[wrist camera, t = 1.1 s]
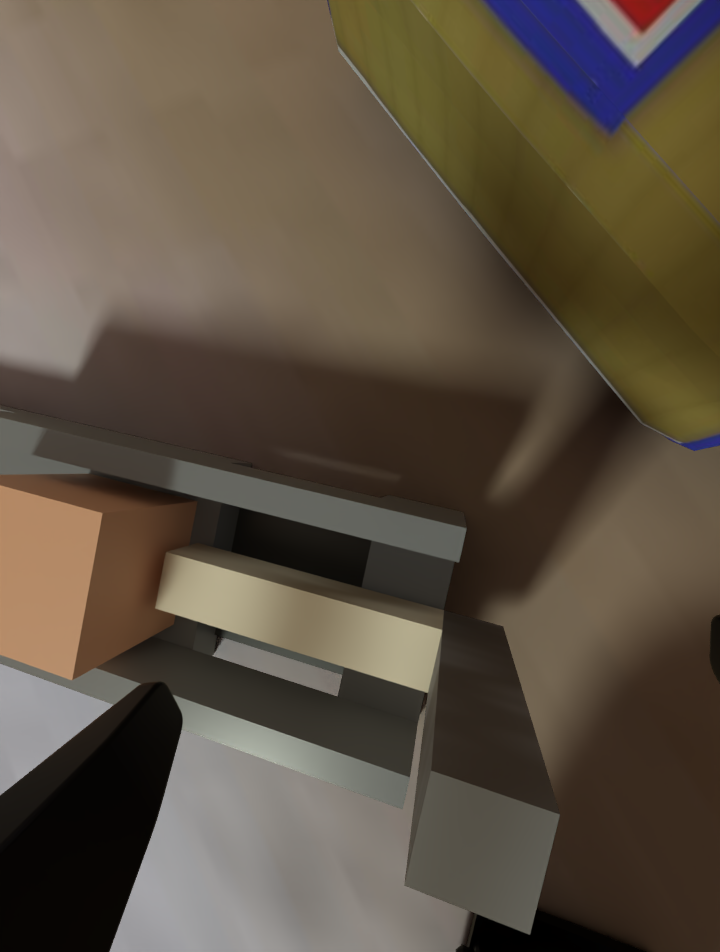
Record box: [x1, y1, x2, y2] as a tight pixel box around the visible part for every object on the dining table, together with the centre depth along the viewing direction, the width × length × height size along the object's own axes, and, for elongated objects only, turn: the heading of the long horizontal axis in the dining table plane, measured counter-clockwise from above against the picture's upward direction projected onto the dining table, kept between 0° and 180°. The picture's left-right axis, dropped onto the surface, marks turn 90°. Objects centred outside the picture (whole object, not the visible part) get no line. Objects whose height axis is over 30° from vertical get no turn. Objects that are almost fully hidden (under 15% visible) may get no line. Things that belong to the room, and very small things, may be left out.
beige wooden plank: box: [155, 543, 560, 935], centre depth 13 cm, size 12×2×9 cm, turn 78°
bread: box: [327, 0, 720, 451], centre depth 12 cm, size 10×25×10 cm, turn 36°
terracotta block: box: [0, 474, 198, 680], centre depth 16 cm, size 5×5×5 cm
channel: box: [0, 405, 467, 809], centre depth 19 cm, size 28×8×5 cm, turn 78°
